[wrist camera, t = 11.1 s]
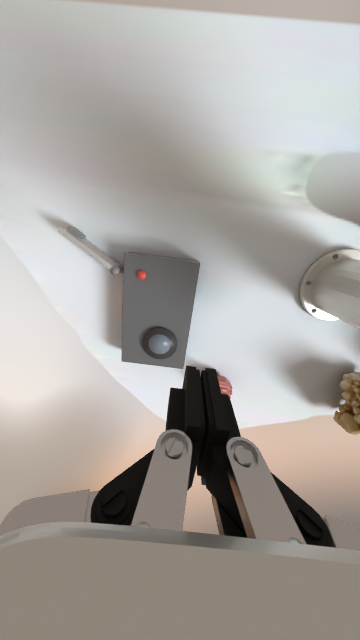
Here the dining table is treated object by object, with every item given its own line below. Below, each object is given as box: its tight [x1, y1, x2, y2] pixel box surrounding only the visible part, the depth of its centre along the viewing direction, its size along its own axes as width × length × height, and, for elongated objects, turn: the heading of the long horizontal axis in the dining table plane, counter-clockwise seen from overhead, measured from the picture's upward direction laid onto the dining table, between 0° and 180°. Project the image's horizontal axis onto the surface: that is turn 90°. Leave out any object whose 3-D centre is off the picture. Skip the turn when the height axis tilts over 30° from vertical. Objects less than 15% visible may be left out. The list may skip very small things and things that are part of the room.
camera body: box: [122, 252, 200, 369], centre depth 36 cm, size 12×20×4 cm, turn 173°
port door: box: [58, 227, 124, 275], centre depth 33 cm, size 2×11×4 cm, turn 51°
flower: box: [217, 375, 232, 398], centre depth 41 cm, size 8×8×6 cm
